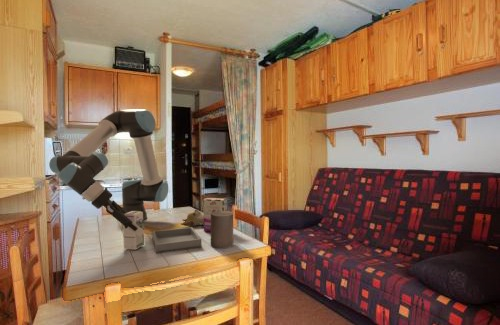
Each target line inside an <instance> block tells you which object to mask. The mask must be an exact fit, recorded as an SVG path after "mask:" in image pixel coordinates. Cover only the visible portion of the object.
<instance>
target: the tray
mask: <svg viewBox="0 0 500 325" xmlns="http://www.w3.org/2000/svg"><path fill="white" fill-rule="evenodd" d="M152 242H153V247H154V250H155V254H162V253H163V254H164V253H170V252H176V251H185V250H191V249H201V248H202V237H201V236H200V235H199V234H198V233H197V232H196V231H195V229H194V228H193V227H192V226H188V227H179V228H171V229H170V228H169V229H161V230H160V229H159V230H153V231H152Z"/></svg>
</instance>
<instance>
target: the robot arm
mask: <svg viewBox="0 0 500 325" xmlns="http://www.w3.org/2000/svg"><path fill="white" fill-rule="evenodd" d="M155 129H156V120H155V116H154V115H153V113H152V112H151V111H150V110H148V109H141V108H140V109H138V108H136V109H120V110H119V109H118V110H116V111H113V112H112V113H110V114H108V115H106V116H105V117H104V118H102V119H101V120H100V121H98V125H97V127H94V129H92V131H90V132H89V133H88V134H87V135H85V137H83V138H82V139H81V140H80V141H79V142H77V143H76V144H75V145H74V146H73V147H71V148H70V149H68V151H66V152H65V153H64V154H63V155H56V156H53V157H52V158H51V159H50V161H49V162H48V163H49V164H48V165H49V169H50V171H51V172H53V173H54V174H58V175H57V178H59V180H61V182H63V183H64V184H65V185H66V186H68V187H69V188H70V189H72V190H73V191H74V192H75V193H77V194H78V195H79V196H81V199H82V200H83V201H84V200H86V201H87V202H88V203H90V202H91V205H92V206H93V207H95V208H96V209H97V210H99V209H101V208H102V207H104V208H105V211H106V212H107V213H108V214H109V215H111V216H112V217H113V218H114V219H116V220H117V221H118V222H119V223H121V225H122V226H123V225H124V226H125V228H127V227H128V228H129V229H131V230H132V231H133V232H134V233H136V234H137V235H138V236H139V237H141V236H142V235H143V234H144V235H145V233H146V230H143V229H144V228H145V225H143V229H142V228H140V227H139V226H138V225H137V224H135V223H134V222H132V221H131V220H130V219H129V218H127V217H126V216H125V215H124V214H125V213H128V212H131V211H142V212H143V220H146V219H147V218H148V213H147V211H146V207H145V202H147V203H148V202H150V203H151V202H153V203H160V202H161V203H162V202H164V201H165V200H166V198H167V197H168V193H169V184H168V182H166V181H164V179H163V177H162V176H161V175H159V170H158V165H157V161H156V160H157V159H156V156H155V151H154V147H153V142H152V135H153V134H154V131H155ZM120 133H129V137H130V138H131V139H132V140H133V141H134V146H135V149H136V154H137V157H138V158H137V159H138V162H139V166H140V171H141V174H142V175H141V176H142V178H137V179H131V180H125V181H123V182H122V186H121V193H122V195H121V197H122V199H121V200H122V205H119V203H117V202H116V201H115V200H111V198H112V196H113V194H112V193H111V192H110V191H109V190H108V189H105V187H104V186H103V185H102V184H101V183H100V182H98V181H97V180H96V179H94V178H95V177H96V176H98V174H100V173H101V172H102V171H104V170H105V168H106V167H107V166H108V165H109V160H108V157H107V155H106V154H104V153H103V152H100V151H97V150H98V149H99V148H100V147H101V146H103V145H104V144H105V143H106V141H108V139H110V138H112V137H115V136H116V135H117V134H120Z"/></svg>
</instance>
